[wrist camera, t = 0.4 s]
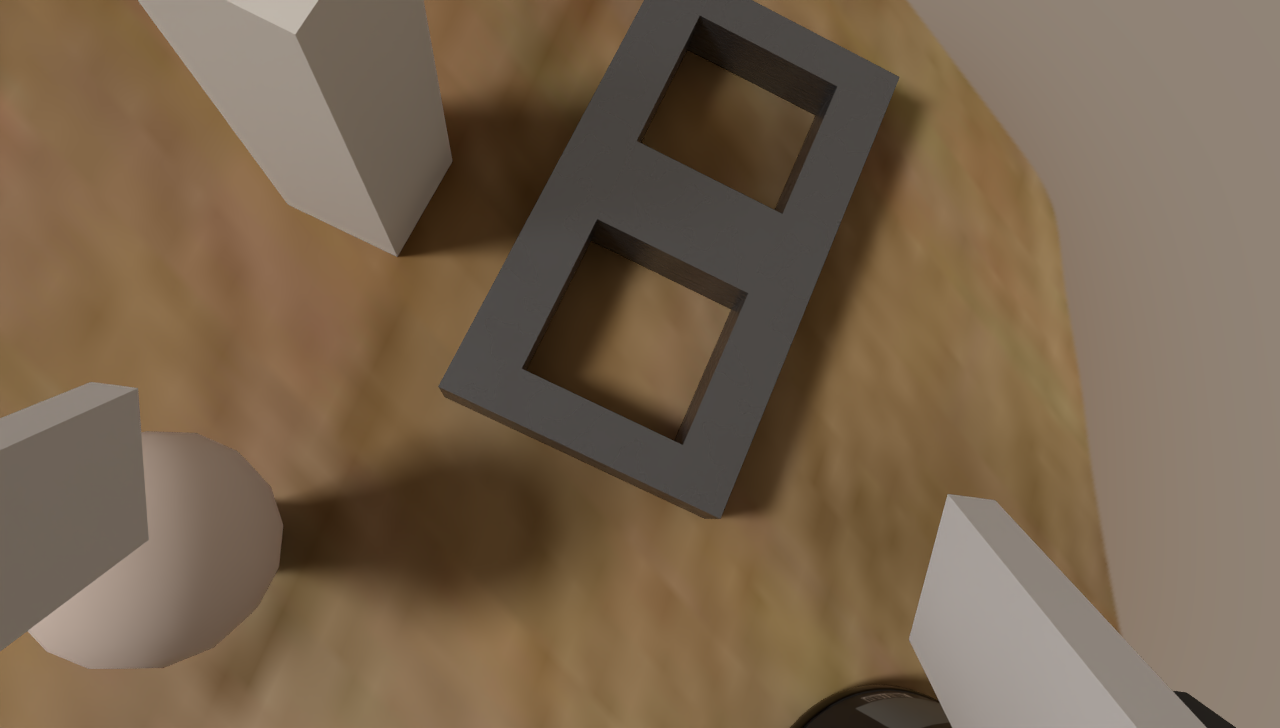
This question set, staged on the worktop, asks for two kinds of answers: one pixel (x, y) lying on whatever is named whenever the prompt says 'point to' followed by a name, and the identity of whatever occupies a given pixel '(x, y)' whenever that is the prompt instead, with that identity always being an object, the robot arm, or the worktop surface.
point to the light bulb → (177, 563)
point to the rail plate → (678, 244)
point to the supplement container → (875, 710)
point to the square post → (325, 101)
